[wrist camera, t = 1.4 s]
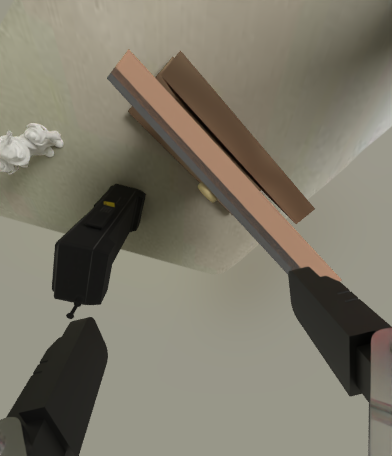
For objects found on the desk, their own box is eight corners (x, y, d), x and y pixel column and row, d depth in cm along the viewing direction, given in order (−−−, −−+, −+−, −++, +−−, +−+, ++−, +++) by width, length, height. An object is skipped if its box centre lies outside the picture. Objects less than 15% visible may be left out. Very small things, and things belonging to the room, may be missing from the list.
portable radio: (113, 176, 44) (27, 240, 21) (147, 186, 44) (101, 257, 21) (106, 217, 47) (25, 313, 24) (139, 225, 47) (91, 325, 24)
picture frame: (184, 110, 33) (128, 49, 18) (297, 233, 33) (341, 280, 18) (168, 128, 34) (101, 84, 18) (278, 248, 34) (305, 305, 18)
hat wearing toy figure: (60, 116, 40) (10, 115, 29) (79, 137, 41) (38, 144, 30) (23, 151, 42) (-37, 163, 31) (41, 170, 43) (-10, 188, 32)
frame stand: (173, 58, 37) (150, -26, 15) (273, 174, 44) (354, 227, 22) (130, 111, 40) (58, 102, 18) (231, 212, 47) (266, 292, 25)
